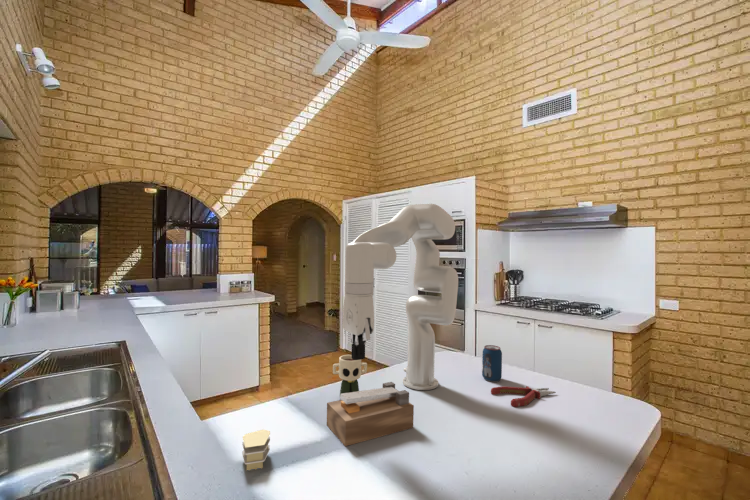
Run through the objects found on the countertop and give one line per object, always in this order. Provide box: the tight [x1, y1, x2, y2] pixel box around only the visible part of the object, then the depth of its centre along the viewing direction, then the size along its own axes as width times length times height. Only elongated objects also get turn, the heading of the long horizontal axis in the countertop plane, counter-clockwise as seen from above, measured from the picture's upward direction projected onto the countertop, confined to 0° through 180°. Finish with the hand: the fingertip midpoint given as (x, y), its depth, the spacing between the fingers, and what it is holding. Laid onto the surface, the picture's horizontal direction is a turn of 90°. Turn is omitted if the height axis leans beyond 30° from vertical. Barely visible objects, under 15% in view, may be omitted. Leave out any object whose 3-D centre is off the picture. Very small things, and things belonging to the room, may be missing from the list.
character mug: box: [332, 354, 368, 395], centre depth 116 cm, size 11×7×13 cm, turn 100°
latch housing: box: [326, 381, 415, 447], centre depth 98 cm, size 12×20×9 cm, turn 119°
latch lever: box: [339, 386, 399, 404], centre depth 98 cm, size 5×17×1 cm, turn 120°
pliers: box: [490, 385, 556, 408], centre depth 120 cm, size 12×21×3 cm, turn 109°
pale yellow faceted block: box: [241, 429, 271, 471], centre depth 81 cm, size 10×9×6 cm
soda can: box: [481, 344, 503, 383], centre depth 136 cm, size 7×7×12 cm
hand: (358, 358), depth 96 cm, fingers closed
